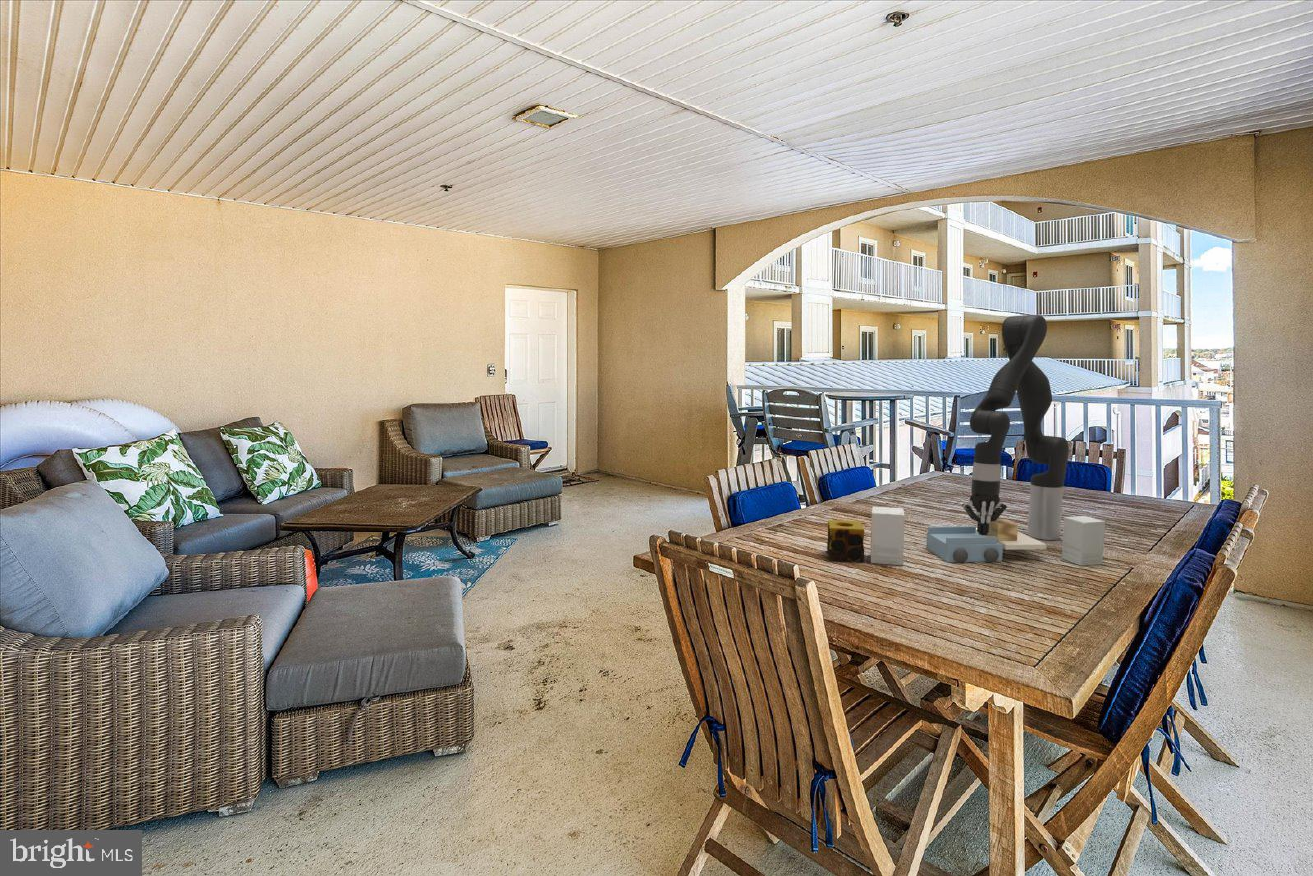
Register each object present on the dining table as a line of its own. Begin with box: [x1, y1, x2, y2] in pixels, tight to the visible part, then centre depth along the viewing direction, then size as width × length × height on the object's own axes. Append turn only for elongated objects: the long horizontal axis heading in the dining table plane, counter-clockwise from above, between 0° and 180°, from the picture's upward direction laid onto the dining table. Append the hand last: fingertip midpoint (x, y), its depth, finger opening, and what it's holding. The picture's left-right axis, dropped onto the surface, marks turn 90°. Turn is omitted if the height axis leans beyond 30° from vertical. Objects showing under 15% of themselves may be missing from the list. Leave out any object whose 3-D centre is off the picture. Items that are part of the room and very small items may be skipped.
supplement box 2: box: [1061, 515, 1106, 567], centre depth 189 cm, size 7×7×13 cm
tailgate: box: [985, 531, 1048, 551], centre depth 197 cm, size 1×14×12 cm
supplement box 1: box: [870, 506, 906, 566], centre depth 191 cm, size 9×9×15 cm
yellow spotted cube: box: [826, 519, 865, 563], centre depth 194 cm, size 10×10×10 cm
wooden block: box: [986, 518, 1019, 541], centre depth 196 cm, size 6×6×5 cm
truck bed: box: [925, 525, 1004, 564], centre depth 196 cm, size 16×16×7 cm
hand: (982, 534), depth 196 cm, fingers closed
